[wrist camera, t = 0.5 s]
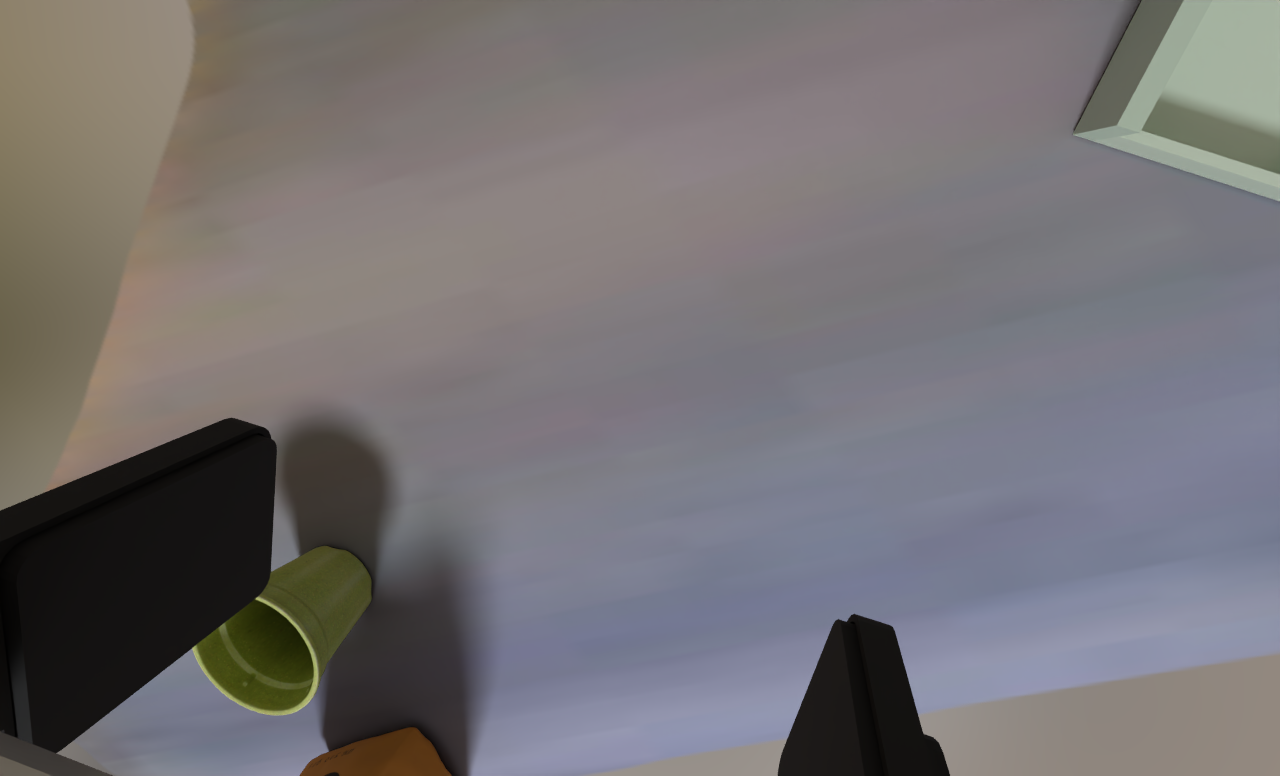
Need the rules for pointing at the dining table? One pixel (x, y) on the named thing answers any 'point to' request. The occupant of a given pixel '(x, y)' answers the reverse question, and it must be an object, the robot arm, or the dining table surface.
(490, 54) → the dining table surface
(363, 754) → the coffee package
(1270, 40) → the tray
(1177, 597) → the dining table surface
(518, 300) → the dining table surface
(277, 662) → the plant pot
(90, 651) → the robot arm
